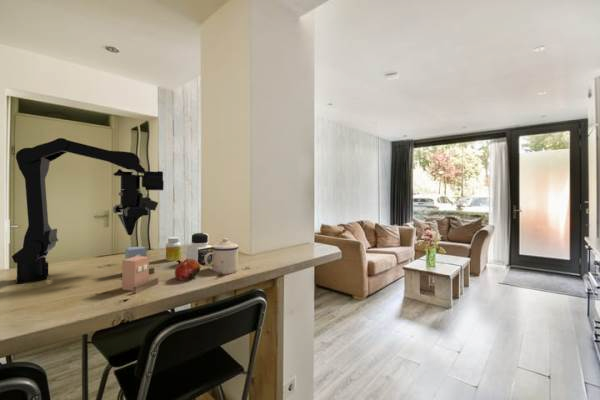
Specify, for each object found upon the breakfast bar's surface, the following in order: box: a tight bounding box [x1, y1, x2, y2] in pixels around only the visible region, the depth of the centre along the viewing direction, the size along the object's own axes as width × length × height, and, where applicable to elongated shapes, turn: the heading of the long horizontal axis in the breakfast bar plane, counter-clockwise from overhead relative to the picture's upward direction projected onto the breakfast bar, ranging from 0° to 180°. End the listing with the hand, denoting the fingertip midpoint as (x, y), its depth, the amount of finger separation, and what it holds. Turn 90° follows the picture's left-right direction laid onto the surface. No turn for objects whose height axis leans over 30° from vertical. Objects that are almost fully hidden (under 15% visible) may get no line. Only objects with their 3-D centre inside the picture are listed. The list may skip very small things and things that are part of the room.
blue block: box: [125, 245, 148, 259], centre depth 90 cm, size 4×5×8 cm
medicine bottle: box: [185, 232, 213, 267], centre depth 106 cm, size 7×7×12 cm
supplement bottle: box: [165, 236, 182, 262], centre depth 109 cm, size 5×5×10 cm
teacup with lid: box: [204, 237, 239, 275], centre depth 97 cm, size 12×9×12 cm
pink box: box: [121, 256, 150, 292], centre depth 77 cm, size 4×5×8 cm
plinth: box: [132, 277, 159, 294], centre depth 77 cm, size 11×8×3 cm
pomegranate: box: [174, 259, 202, 282], centre depth 86 cm, size 7×7×10 cm
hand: (129, 235), depth 95 cm, fingers closed
